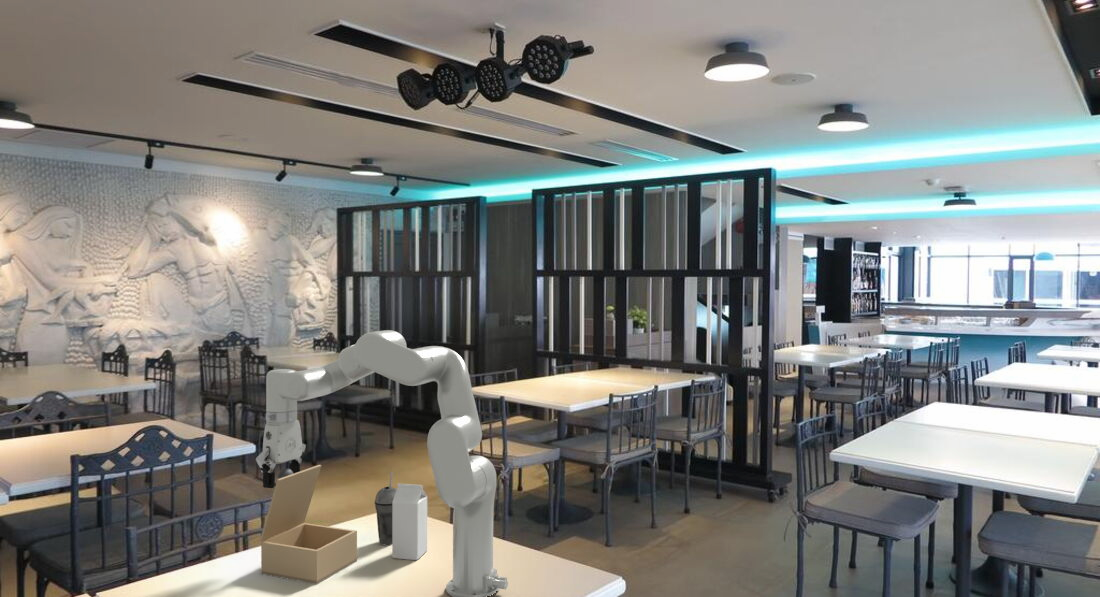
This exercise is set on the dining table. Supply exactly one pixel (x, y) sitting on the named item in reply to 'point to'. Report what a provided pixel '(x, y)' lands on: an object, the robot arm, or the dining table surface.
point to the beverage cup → (385, 513)
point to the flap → (290, 500)
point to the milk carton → (409, 522)
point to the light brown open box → (309, 552)
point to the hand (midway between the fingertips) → (281, 482)
